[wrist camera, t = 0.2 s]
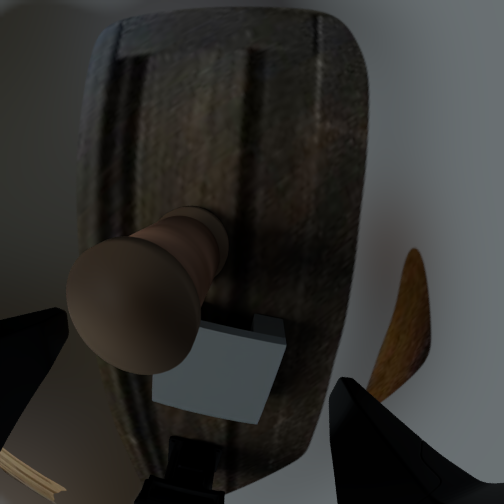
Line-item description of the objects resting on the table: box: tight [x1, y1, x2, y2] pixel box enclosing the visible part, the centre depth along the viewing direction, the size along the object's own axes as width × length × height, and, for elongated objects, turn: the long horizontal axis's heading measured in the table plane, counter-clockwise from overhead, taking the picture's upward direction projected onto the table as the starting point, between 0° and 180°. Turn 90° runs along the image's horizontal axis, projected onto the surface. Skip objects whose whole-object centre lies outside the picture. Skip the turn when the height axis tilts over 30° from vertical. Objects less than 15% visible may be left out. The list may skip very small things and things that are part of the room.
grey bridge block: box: [152, 314, 287, 424], centre depth 23 cm, size 9×9×4 cm
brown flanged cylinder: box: [66, 206, 229, 375], centre depth 16 cm, size 6×6×12 cm
